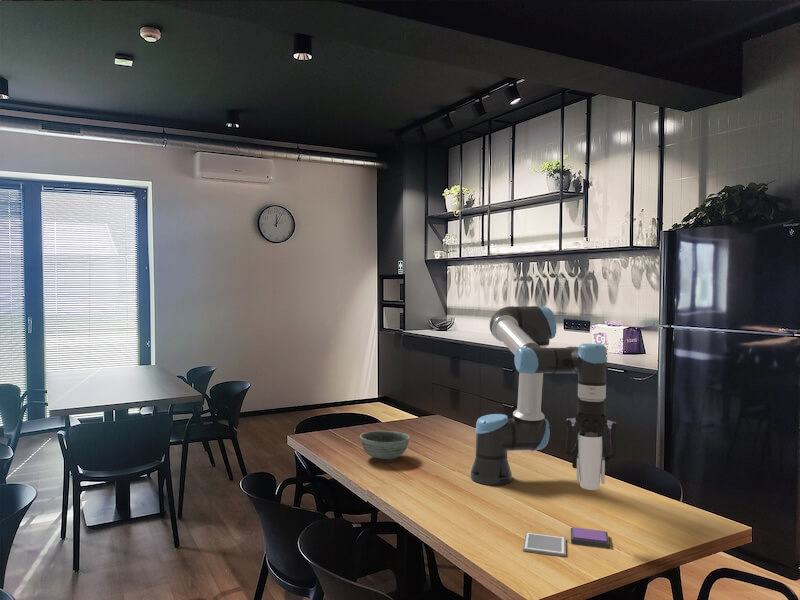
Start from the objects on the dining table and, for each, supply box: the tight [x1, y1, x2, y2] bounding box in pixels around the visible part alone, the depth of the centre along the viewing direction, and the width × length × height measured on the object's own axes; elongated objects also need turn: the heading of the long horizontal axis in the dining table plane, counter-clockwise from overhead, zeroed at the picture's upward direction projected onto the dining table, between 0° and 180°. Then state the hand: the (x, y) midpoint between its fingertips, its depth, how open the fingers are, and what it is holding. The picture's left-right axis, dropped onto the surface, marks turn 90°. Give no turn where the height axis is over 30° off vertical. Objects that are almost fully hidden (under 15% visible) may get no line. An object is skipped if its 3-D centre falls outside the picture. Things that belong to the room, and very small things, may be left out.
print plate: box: [522, 532, 567, 558], centre depth 157 cm, size 11×11×1 cm
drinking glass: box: [577, 432, 604, 491], centre depth 161 cm, size 7×7×15 cm
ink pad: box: [570, 527, 610, 549], centre depth 161 cm, size 10×8×2 cm
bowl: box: [359, 430, 411, 463], centre depth 236 cm, size 21×21×10 cm
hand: (590, 480), depth 161 cm, fingers closed on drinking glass, 6 cm apart
